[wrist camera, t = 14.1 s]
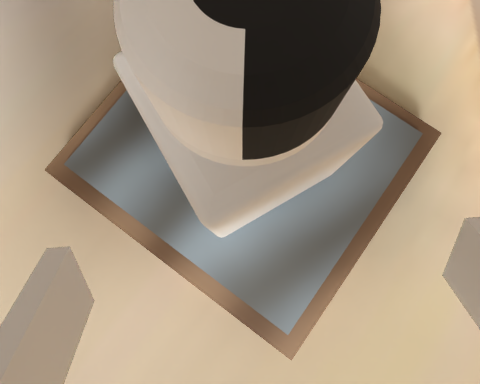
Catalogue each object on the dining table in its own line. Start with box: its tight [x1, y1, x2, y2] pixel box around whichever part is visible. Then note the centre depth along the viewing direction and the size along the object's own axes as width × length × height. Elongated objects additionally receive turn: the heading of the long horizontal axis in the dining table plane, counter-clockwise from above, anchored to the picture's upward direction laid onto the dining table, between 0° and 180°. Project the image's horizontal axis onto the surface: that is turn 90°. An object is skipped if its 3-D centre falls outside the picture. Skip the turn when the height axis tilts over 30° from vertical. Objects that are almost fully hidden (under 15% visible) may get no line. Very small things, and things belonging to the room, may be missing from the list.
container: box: [113, 0, 383, 238], centre depth 14 cm, size 8×8×13 cm
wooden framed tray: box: [45, 78, 441, 360], centre depth 22 cm, size 18×16×3 cm
